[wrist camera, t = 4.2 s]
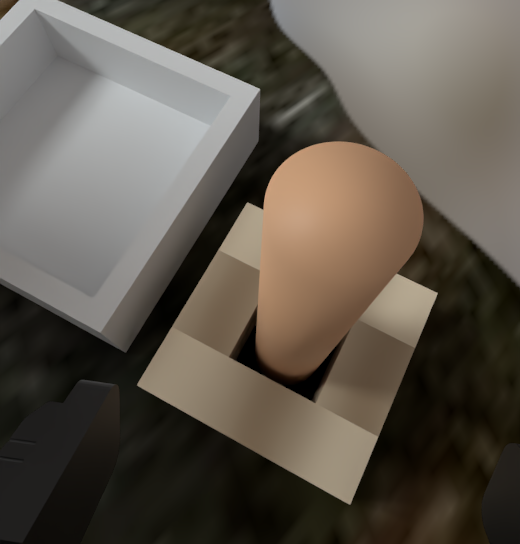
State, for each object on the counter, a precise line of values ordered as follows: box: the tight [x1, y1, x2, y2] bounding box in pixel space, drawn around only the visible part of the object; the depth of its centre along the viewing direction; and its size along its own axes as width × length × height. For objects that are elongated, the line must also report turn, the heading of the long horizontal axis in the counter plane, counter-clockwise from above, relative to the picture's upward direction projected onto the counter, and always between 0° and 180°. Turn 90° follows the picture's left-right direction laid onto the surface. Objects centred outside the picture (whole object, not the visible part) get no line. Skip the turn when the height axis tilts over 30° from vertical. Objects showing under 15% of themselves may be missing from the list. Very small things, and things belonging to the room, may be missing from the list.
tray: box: [0, 0, 260, 353], centre depth 23 cm, size 13×13×4 cm
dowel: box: [255, 142, 424, 385], centre depth 16 cm, size 3×3×14 cm
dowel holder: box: [137, 202, 438, 504], centre depth 21 cm, size 9×9×3 cm
